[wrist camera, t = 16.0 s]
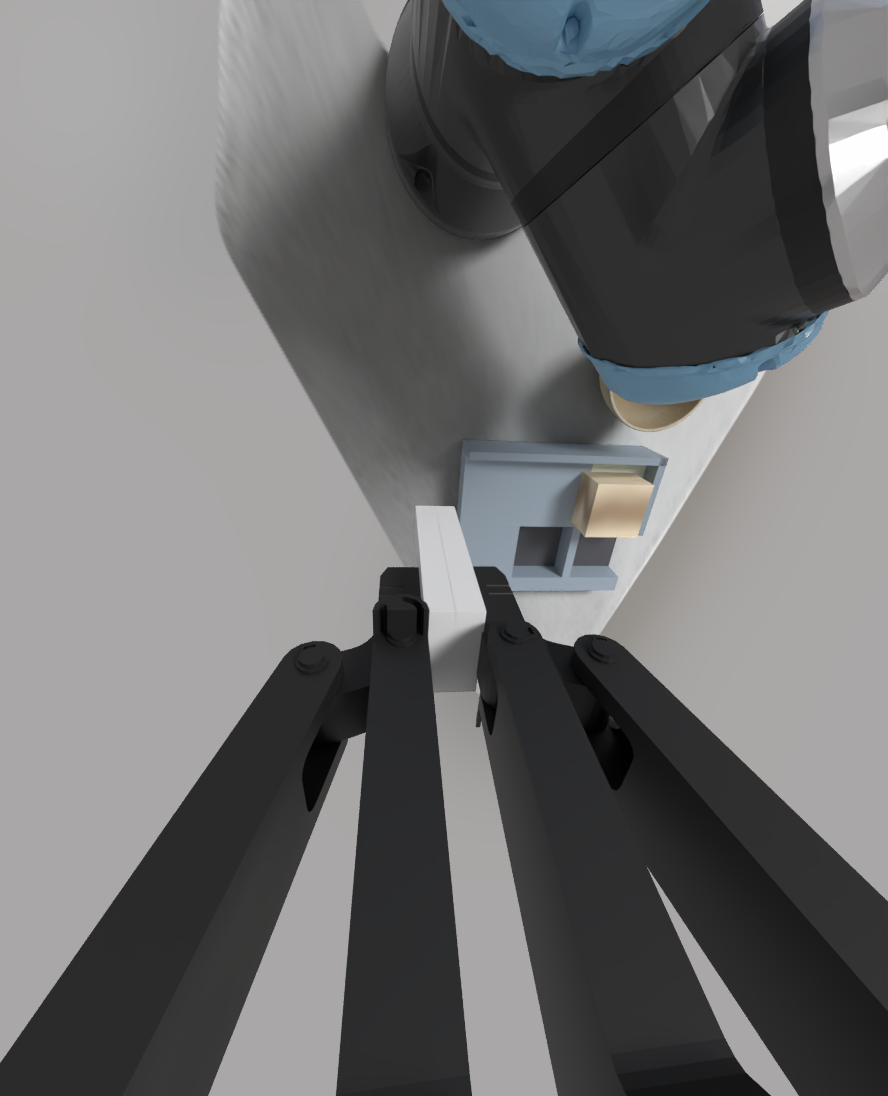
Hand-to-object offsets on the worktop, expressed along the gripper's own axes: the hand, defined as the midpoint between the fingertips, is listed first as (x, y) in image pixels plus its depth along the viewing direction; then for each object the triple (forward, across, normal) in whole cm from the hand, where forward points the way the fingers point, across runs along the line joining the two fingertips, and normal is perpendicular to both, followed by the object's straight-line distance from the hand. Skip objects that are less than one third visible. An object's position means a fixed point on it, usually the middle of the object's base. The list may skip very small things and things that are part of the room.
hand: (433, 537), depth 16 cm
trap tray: (+29, +16, -12) cm, 36 cm away
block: (+26, +22, -8) cm, 35 cm away
